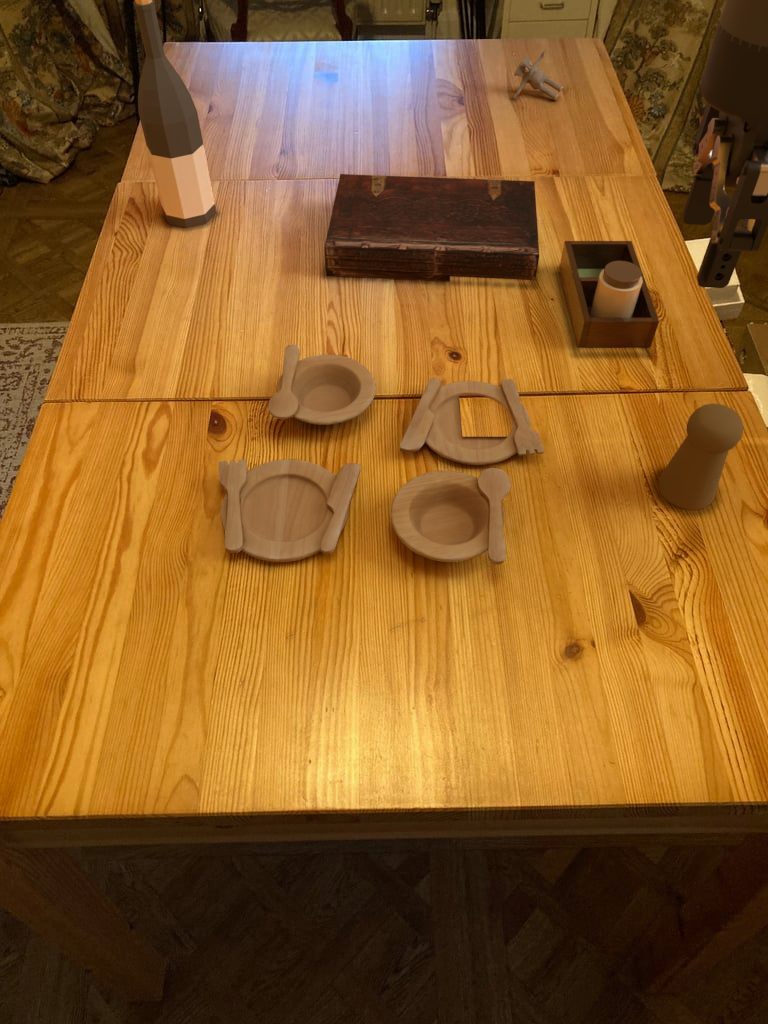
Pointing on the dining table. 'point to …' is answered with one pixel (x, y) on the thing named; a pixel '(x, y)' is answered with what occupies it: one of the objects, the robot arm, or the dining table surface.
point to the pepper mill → (701, 457)
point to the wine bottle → (171, 131)
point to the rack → (580, 285)
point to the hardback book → (432, 228)
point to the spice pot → (617, 291)
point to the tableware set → (325, 497)
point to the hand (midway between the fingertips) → (702, 252)
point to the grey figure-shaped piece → (535, 77)
